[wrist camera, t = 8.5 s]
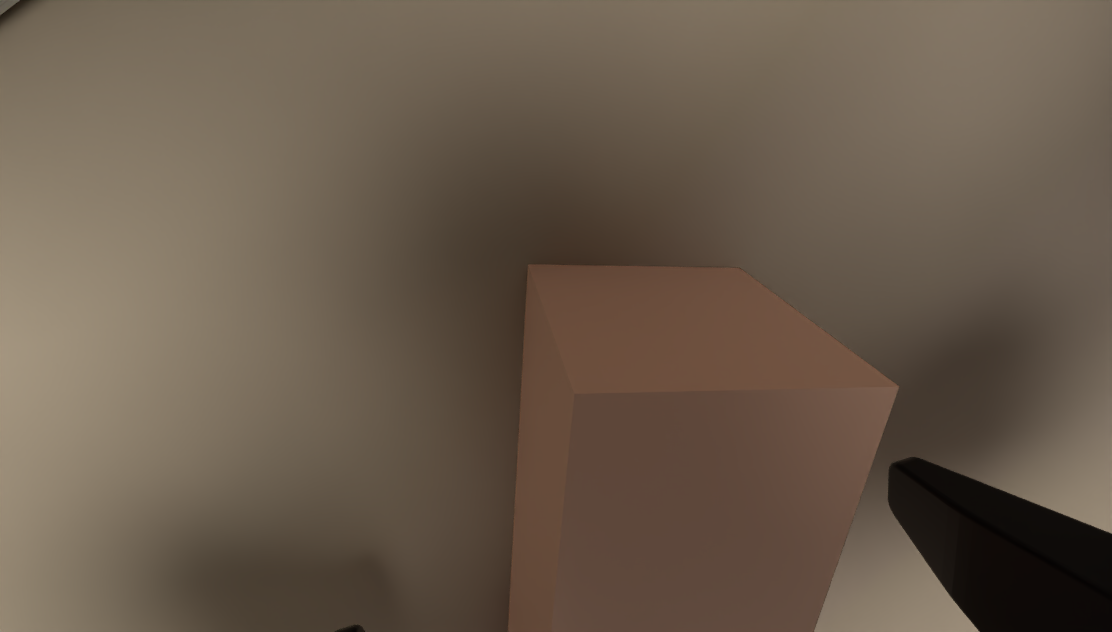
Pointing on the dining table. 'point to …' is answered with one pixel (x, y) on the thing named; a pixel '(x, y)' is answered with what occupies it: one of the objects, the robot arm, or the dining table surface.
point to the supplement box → (6, 5)
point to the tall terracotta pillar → (682, 453)
